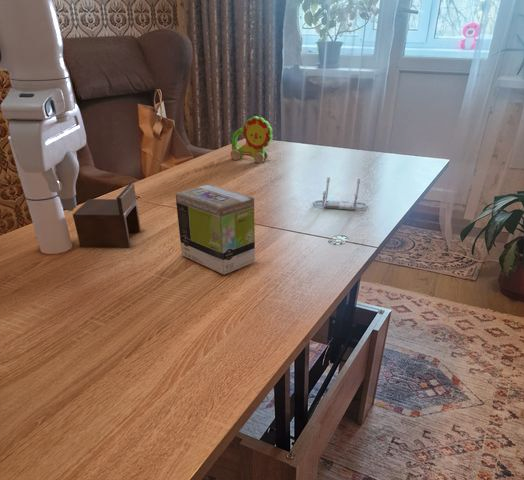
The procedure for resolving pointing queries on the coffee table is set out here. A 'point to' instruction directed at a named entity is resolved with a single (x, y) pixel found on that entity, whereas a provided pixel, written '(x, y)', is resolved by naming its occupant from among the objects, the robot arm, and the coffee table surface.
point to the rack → (108, 220)
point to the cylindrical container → (44, 211)
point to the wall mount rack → (340, 204)
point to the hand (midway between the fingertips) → (64, 184)
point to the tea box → (216, 227)
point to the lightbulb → (68, 180)
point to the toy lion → (253, 139)
